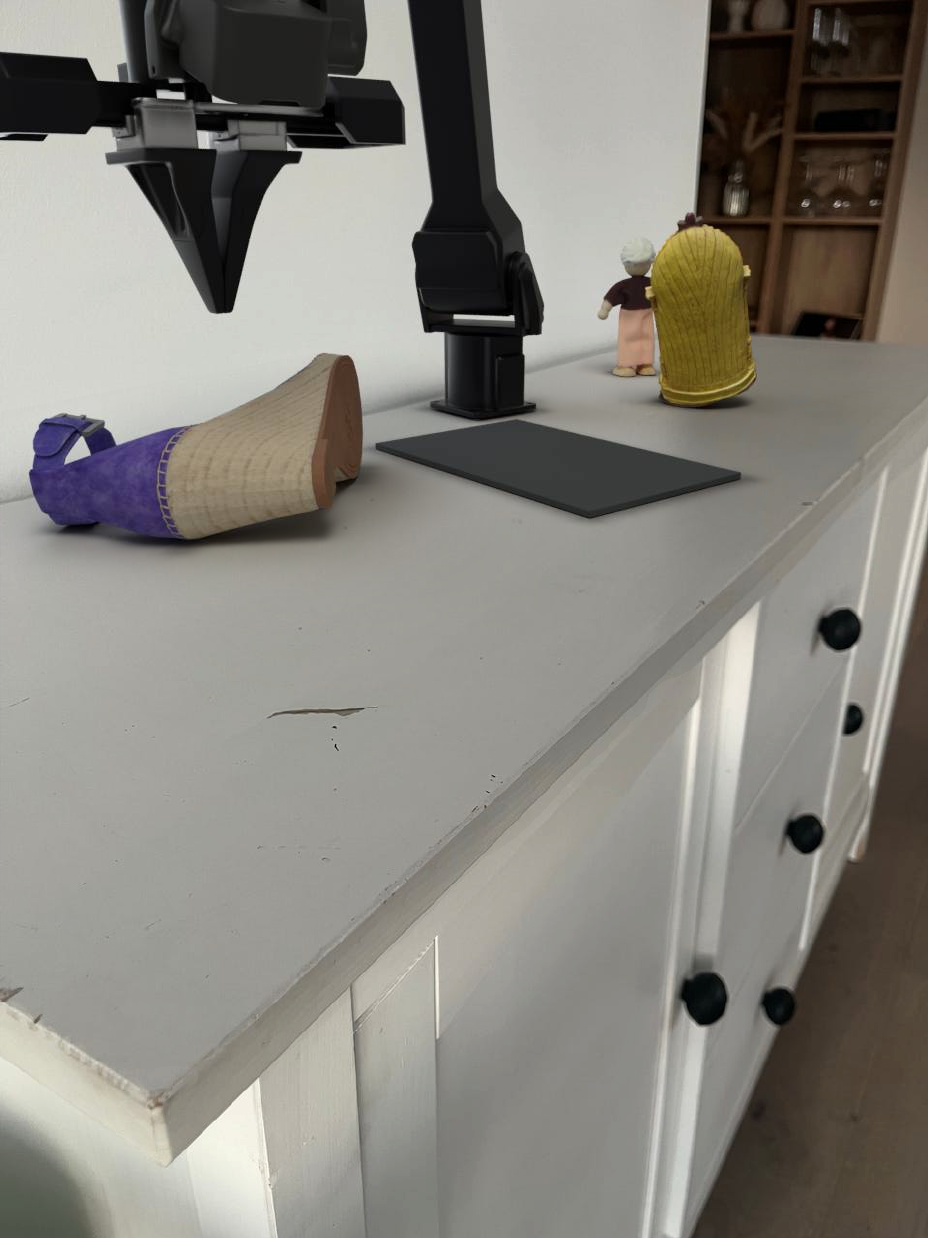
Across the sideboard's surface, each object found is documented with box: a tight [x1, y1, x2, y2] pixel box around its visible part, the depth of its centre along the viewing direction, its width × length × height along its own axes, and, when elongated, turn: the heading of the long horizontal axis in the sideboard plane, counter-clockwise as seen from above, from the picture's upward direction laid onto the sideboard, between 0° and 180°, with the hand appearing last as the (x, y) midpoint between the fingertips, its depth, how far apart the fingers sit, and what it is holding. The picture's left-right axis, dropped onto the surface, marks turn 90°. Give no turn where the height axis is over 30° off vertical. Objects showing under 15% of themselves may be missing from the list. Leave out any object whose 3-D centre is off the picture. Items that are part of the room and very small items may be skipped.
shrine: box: [645, 211, 757, 408], centre depth 78 cm, size 12×8×15 cm
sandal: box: [28, 352, 364, 541], centre depth 55 cm, size 8×20×15 cm
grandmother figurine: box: [597, 237, 657, 378], centre depth 94 cm, size 8×4×13 cm, turn 115°
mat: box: [374, 418, 742, 519], centre depth 63 cm, size 21×13×1 cm, turn 38°
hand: (220, 312), depth 46 cm, fingers closed
